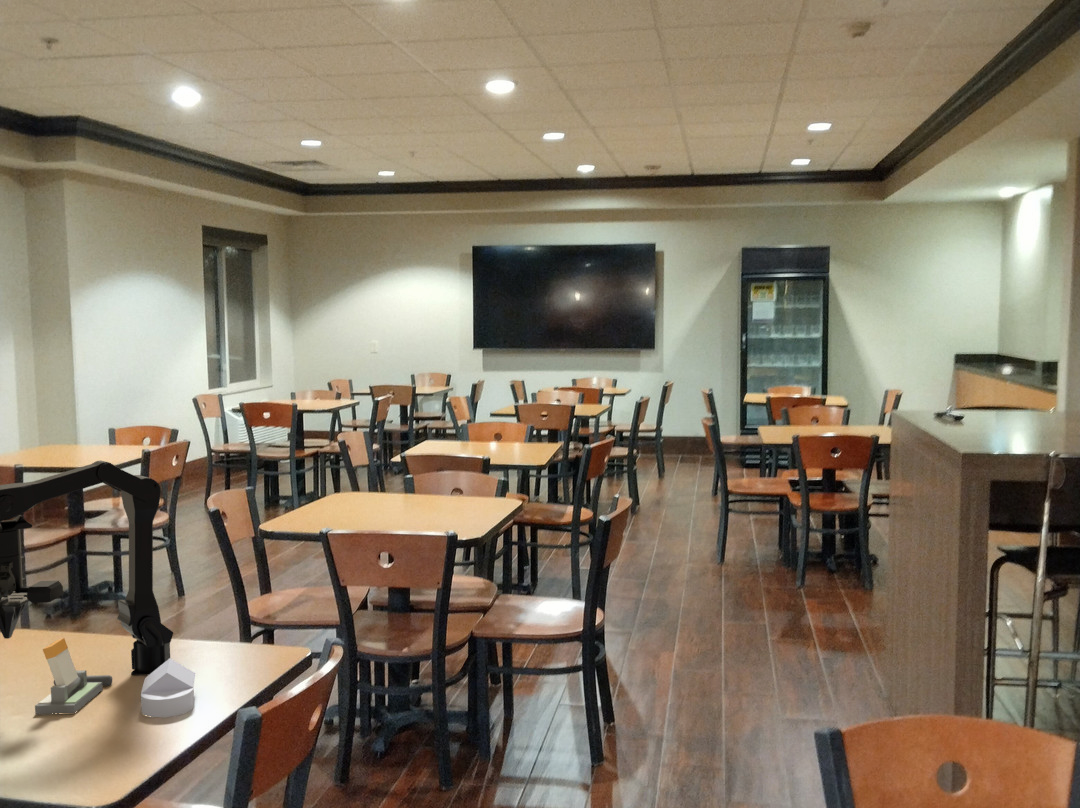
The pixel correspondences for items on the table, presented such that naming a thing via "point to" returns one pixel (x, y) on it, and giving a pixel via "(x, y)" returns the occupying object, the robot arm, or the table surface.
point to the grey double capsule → (99, 679)
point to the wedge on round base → (168, 691)
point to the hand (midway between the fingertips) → (7, 638)
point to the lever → (62, 665)
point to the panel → (69, 697)
